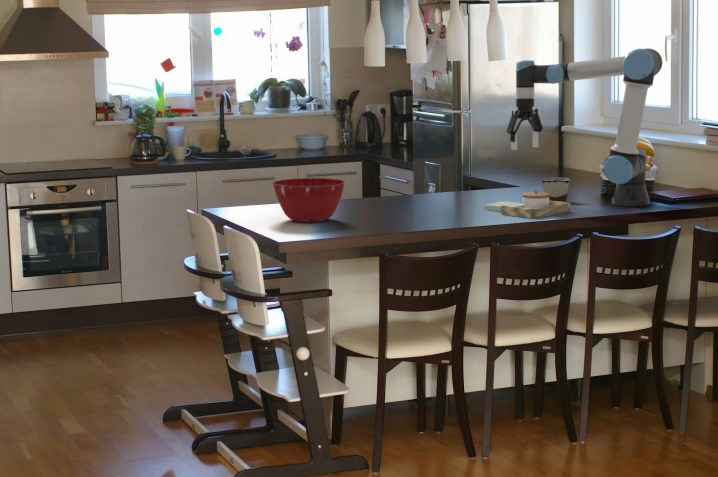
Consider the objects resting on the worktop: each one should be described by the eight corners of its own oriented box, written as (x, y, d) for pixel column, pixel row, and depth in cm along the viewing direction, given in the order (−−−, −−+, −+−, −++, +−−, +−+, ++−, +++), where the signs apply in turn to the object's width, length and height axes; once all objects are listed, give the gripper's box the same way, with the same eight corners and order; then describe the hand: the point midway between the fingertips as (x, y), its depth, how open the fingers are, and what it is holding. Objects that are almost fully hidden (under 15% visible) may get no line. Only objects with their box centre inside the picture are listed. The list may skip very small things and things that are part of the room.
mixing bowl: (306, 212, 475) (306, 175, 473) (360, 218, 458) (360, 179, 455) (258, 222, 454) (257, 182, 451) (313, 228, 436) (312, 187, 433)
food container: (569, 200, 498) (569, 177, 496) (570, 202, 492) (570, 178, 490) (540, 200, 499) (540, 177, 497) (541, 202, 493) (541, 179, 491)
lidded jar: (528, 215, 458) (529, 192, 456) (518, 211, 468) (518, 188, 467) (553, 214, 461) (554, 190, 459) (542, 210, 471) (542, 187, 469)
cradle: (570, 211, 466) (570, 202, 466) (533, 218, 451) (533, 209, 450) (537, 207, 478) (537, 199, 478) (501, 214, 463) (501, 205, 462)
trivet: (529, 209, 475) (529, 204, 475) (508, 212, 466) (508, 207, 466) (504, 206, 484) (504, 201, 484) (484, 209, 476) (484, 204, 475)
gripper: (537, 96, 495) (537, 145, 499) (498, 98, 479) (498, 150, 483) (551, 96, 490) (551, 146, 493) (511, 99, 474) (511, 151, 477)
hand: (524, 148), depth 488 cm, fingers open, 13 cm apart
